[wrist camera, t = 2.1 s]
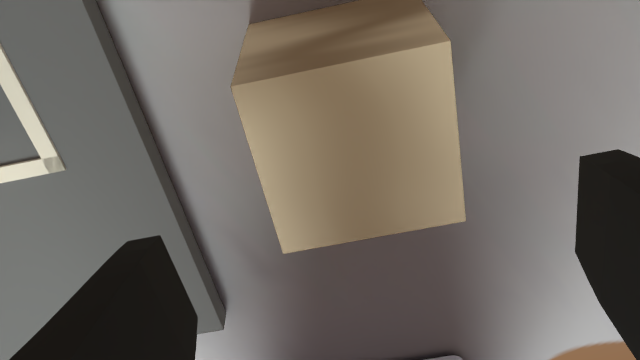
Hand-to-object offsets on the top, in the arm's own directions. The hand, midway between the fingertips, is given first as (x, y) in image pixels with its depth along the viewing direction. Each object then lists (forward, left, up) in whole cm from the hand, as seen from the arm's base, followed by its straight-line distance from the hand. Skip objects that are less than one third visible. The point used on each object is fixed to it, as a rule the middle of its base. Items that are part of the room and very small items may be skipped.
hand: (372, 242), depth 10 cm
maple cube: (0, 0, -8) cm, 8 cm away
